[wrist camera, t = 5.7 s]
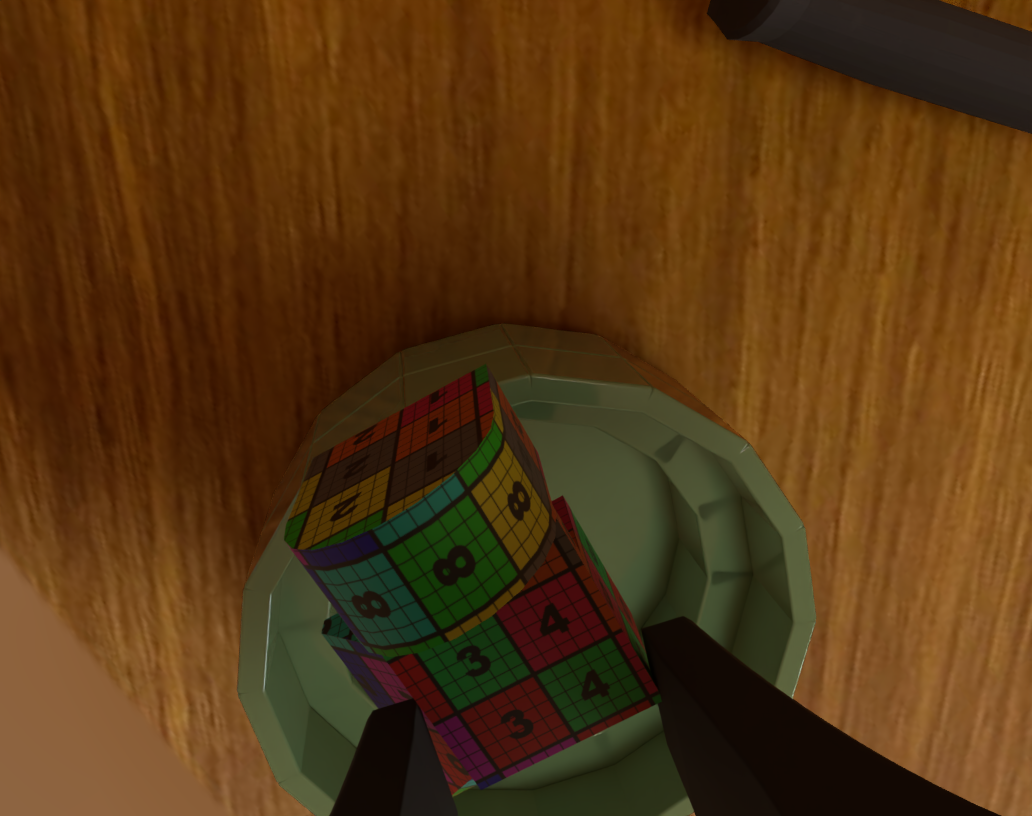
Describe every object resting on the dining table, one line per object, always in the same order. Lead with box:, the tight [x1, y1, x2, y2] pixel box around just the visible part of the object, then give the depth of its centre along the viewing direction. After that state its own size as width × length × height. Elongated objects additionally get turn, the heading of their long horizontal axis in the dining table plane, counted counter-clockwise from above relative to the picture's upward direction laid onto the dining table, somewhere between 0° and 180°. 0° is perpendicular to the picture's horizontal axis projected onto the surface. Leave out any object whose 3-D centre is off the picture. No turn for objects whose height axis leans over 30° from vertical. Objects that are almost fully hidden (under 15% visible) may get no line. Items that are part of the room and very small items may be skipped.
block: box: [284, 364, 662, 797], centre depth 11 cm, size 6×4×3 cm
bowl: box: [237, 323, 816, 816], centre depth 17 cm, size 11×11×4 cm
